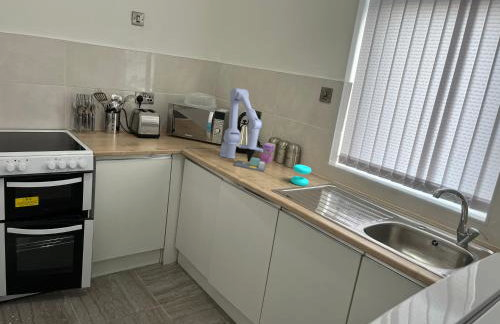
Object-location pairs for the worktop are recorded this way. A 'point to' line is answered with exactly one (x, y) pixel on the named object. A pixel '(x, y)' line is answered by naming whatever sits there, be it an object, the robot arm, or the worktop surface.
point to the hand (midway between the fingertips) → (248, 161)
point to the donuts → (298, 179)
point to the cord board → (252, 167)
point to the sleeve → (254, 161)
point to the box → (267, 152)
